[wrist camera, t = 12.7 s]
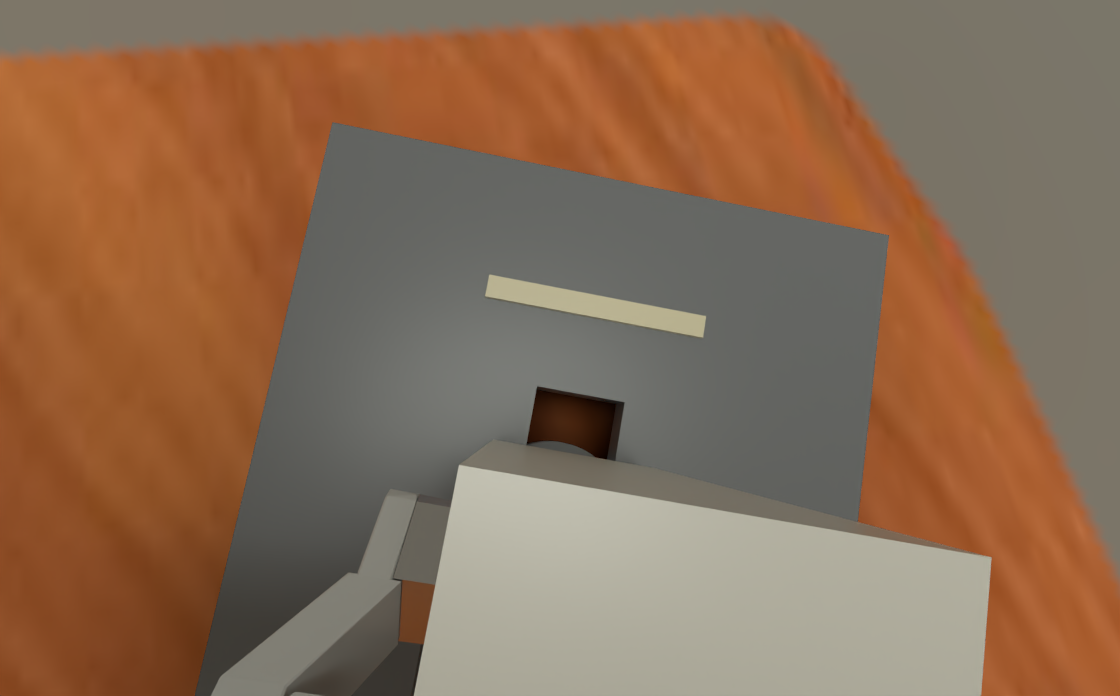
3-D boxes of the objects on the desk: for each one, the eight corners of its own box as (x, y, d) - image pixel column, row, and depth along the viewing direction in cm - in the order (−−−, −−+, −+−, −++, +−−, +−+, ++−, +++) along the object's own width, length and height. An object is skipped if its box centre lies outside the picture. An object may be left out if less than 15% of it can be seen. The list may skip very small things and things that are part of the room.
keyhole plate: (730, 952, 20) (797, 1112, 15) (208, 882, 19) (110, 1031, 14) (815, 272, 22) (893, 233, 18) (368, 183, 22) (330, 118, 17)
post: (602, 590, 20) (969, 1218, 4) (465, 568, 20) (291, 1148, 4) (623, 453, 21) (1018, 534, 5) (492, 429, 20) (435, 432, 4)
